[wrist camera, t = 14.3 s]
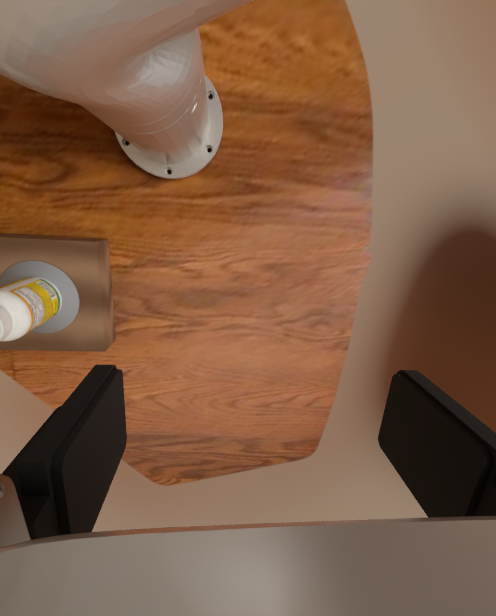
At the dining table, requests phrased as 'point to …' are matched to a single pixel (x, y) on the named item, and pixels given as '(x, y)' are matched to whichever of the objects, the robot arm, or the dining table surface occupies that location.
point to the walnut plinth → (64, 290)
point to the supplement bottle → (27, 306)
